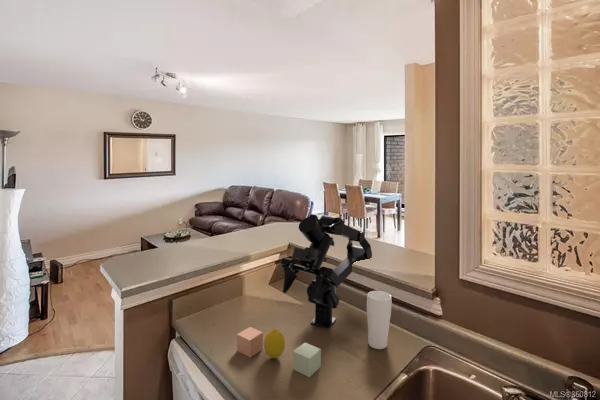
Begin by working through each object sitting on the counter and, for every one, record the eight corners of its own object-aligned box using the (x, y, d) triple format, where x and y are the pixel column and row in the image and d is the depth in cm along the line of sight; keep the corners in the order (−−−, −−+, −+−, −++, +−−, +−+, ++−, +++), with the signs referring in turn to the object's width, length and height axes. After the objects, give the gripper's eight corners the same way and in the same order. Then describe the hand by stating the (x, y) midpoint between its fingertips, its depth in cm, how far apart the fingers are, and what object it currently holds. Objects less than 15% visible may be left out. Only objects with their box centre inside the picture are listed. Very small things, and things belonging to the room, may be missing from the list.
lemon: (282, 365, 82) (281, 336, 81) (261, 363, 83) (261, 334, 82) (287, 353, 88) (287, 325, 87) (267, 350, 89) (267, 323, 88)
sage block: (304, 359, 85) (304, 342, 84) (320, 367, 82) (320, 349, 81) (293, 369, 81) (293, 351, 80) (309, 377, 78) (309, 358, 77)
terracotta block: (250, 342, 93) (250, 326, 92) (262, 349, 90) (262, 332, 89) (237, 351, 89) (237, 334, 88) (250, 357, 86) (249, 340, 85)
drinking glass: (391, 341, 93) (393, 292, 92) (387, 354, 87) (389, 302, 86) (368, 336, 96) (370, 288, 94) (362, 348, 90) (364, 297, 88)
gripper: (282, 231, 99) (258, 276, 92) (333, 241, 88) (310, 293, 81) (298, 250, 107) (277, 293, 99) (347, 261, 95) (327, 310, 88)
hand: (296, 296), depth 92 cm, fingers open, 9 cm apart
